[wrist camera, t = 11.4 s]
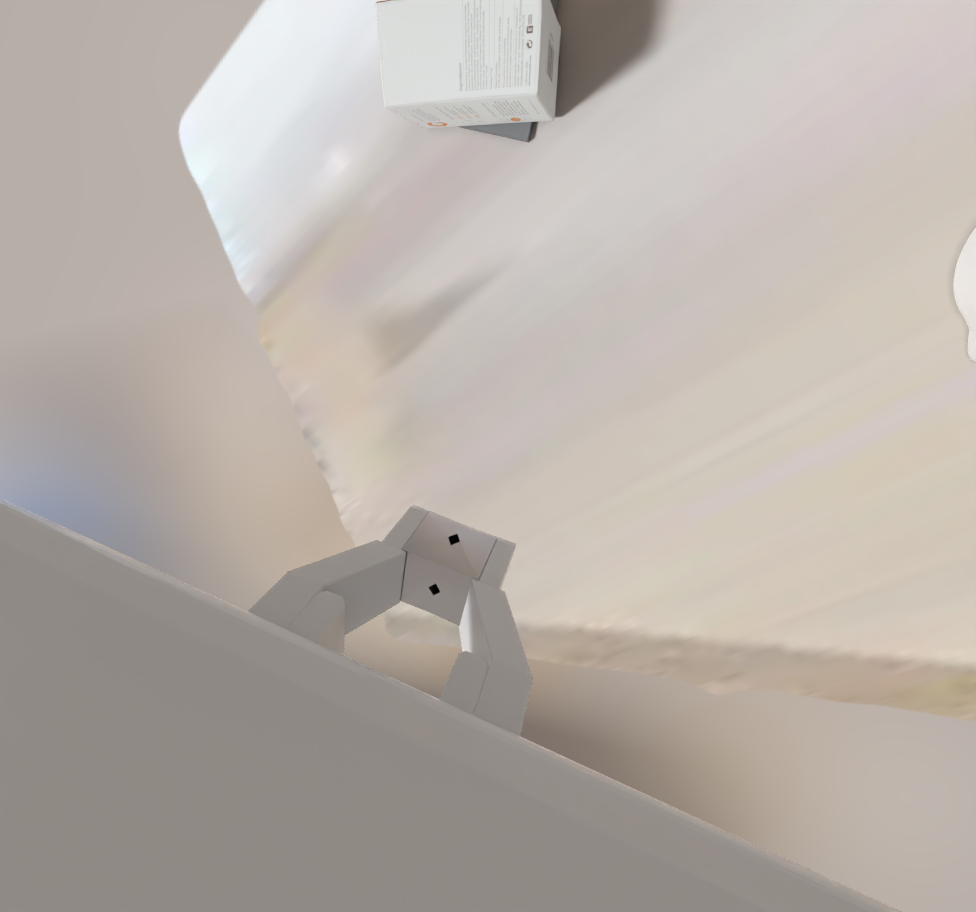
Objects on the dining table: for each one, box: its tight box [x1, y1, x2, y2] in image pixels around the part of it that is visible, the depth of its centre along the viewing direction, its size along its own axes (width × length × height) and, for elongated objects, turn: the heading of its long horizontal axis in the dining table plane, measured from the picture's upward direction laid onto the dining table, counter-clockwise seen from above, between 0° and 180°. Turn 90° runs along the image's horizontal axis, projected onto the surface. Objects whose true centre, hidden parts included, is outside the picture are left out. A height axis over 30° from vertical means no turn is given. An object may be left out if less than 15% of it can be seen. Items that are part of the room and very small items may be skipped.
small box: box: [375, 0, 561, 128], centre depth 33 cm, size 8×6×13 cm
